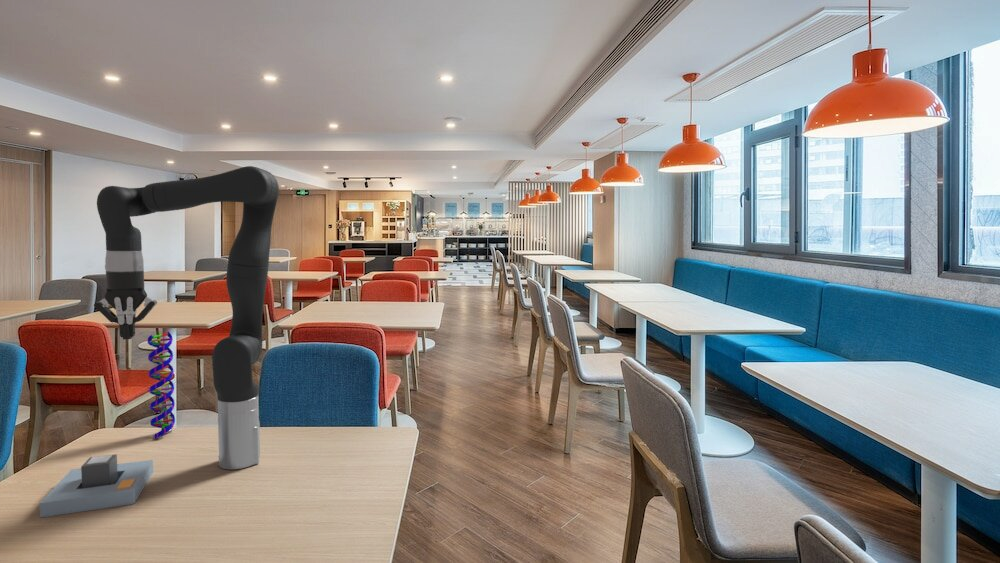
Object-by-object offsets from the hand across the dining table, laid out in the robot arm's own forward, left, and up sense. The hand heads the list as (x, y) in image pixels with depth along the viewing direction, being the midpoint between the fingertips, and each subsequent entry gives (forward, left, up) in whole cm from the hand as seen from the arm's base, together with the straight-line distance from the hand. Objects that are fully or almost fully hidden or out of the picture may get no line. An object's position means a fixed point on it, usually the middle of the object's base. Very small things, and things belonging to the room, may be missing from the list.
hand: (127, 338), depth 125 cm
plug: (+2, +15, -32) cm, 35 cm away
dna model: (-3, -18, -32) cm, 37 cm away
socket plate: (+2, +15, -32) cm, 35 cm away
